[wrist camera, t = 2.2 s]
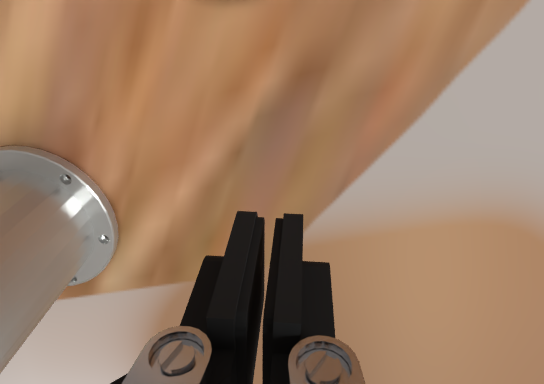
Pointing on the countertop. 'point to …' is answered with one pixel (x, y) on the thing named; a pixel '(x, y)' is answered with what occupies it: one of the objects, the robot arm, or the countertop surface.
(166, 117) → the countertop surface
